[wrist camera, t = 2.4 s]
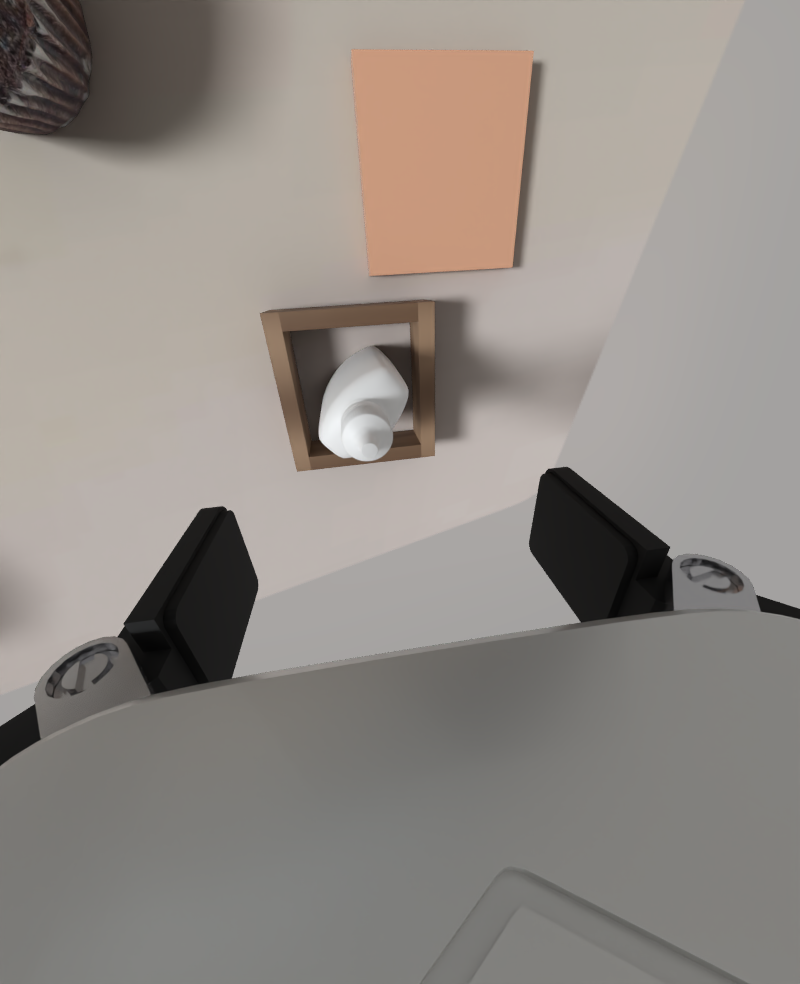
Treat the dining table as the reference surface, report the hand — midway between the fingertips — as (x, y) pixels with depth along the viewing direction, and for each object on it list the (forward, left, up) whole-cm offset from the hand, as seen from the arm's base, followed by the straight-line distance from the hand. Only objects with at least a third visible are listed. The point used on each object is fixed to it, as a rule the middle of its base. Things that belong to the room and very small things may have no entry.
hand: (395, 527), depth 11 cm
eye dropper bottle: (0, 0, -17) cm, 17 cm away
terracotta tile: (-11, +6, -17) cm, 21 cm away
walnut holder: (0, 0, -17) cm, 17 cm away
